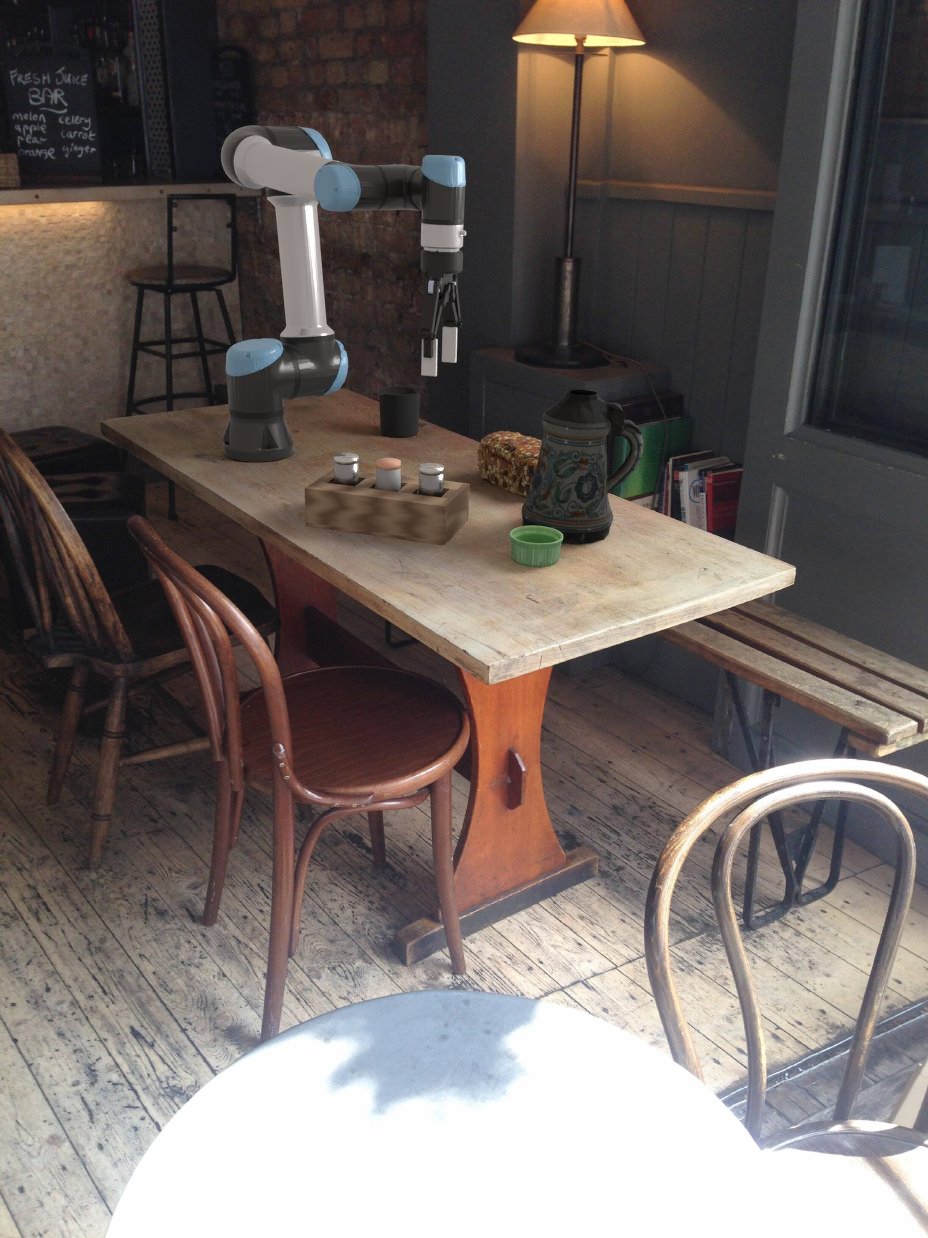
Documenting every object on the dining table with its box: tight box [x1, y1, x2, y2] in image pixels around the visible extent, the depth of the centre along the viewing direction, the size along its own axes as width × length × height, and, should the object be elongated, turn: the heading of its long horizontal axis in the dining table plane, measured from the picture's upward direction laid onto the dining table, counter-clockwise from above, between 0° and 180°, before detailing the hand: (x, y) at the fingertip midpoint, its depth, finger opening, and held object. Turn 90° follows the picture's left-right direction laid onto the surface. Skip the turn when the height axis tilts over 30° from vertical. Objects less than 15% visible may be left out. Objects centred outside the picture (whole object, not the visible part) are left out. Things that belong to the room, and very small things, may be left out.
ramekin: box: [508, 525, 563, 568], centre depth 183 cm, size 9×9×4 cm
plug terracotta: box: [375, 457, 402, 492], centre depth 194 cm, size 4×4×6 cm
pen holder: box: [378, 385, 421, 439], centre depth 253 cm, size 9×9×10 cm
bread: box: [477, 430, 542, 498], centre depth 219 cm, size 19×11×10 cm, turn 35°
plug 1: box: [333, 452, 360, 486], centre depth 196 cm, size 4×4×6 cm
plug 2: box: [418, 462, 445, 498], centre depth 192 cm, size 4×4×6 cm
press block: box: [304, 468, 471, 546], centre depth 196 cm, size 26×14×7 cm, turn 73°
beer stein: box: [520, 389, 644, 546], centre depth 193 cm, size 16×19×25 cm
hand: (439, 368), depth 204 cm, fingers open, 13 cm apart
